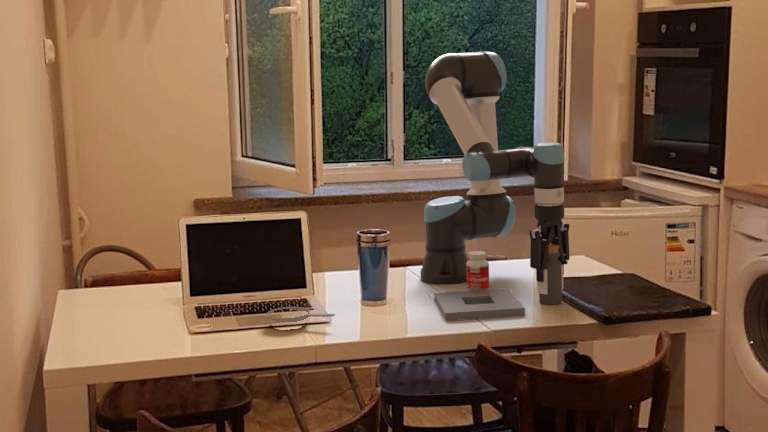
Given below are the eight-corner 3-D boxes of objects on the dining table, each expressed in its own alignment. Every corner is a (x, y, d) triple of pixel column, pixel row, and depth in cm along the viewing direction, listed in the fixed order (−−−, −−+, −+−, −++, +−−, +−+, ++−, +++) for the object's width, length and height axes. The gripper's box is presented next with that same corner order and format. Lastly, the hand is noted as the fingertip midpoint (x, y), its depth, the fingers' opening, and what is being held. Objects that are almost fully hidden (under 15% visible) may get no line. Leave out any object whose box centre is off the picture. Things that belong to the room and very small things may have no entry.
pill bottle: (468, 295, 270) (467, 255, 268) (465, 289, 276) (464, 250, 274) (491, 294, 270) (490, 254, 268) (487, 288, 276) (486, 249, 274)
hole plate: (445, 321, 246) (445, 313, 246) (434, 300, 266) (434, 293, 266) (524, 315, 248) (524, 307, 248) (508, 295, 268) (507, 288, 267)
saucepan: (279, 318, 256) (278, 304, 255) (343, 323, 249) (343, 308, 248) (259, 330, 246) (258, 315, 245) (325, 335, 239) (324, 320, 238)
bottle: (561, 304, 256) (561, 247, 253) (538, 304, 257) (537, 247, 255) (562, 298, 262) (561, 243, 259) (539, 298, 263) (539, 243, 260)
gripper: (537, 210, 246) (538, 300, 250) (583, 199, 258) (584, 286, 262) (514, 207, 251) (515, 296, 256) (560, 197, 264) (561, 281, 268)
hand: (550, 290), depth 259 cm, fingers closed on bottle, 6 cm apart
